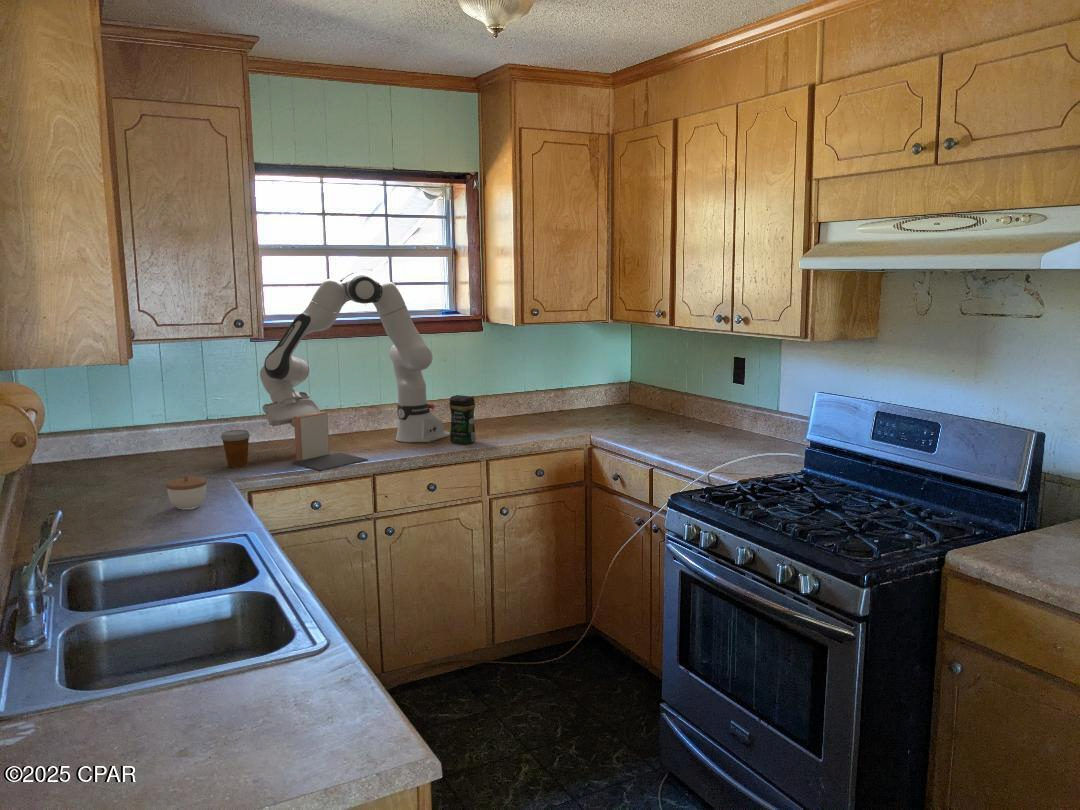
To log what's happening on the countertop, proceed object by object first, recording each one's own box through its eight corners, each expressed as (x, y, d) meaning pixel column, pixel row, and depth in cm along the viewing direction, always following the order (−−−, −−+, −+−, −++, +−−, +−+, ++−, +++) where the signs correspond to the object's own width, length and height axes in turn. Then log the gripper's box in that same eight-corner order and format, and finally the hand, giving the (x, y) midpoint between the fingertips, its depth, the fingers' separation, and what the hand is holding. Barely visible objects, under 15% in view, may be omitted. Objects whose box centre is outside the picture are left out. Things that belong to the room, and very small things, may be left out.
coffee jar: (446, 443, 323) (445, 396, 320) (458, 439, 330) (457, 393, 327) (467, 445, 319) (466, 397, 316) (478, 441, 326) (477, 394, 323)
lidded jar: (196, 499, 249) (194, 469, 247) (215, 506, 242) (212, 475, 241) (161, 508, 241) (158, 476, 239) (180, 514, 234) (177, 482, 233)
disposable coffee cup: (228, 470, 284) (226, 436, 282) (219, 465, 291) (216, 432, 289) (256, 466, 290) (253, 432, 288) (246, 461, 297) (243, 428, 295)
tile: (324, 454, 307) (322, 411, 304) (330, 455, 305) (328, 412, 302) (296, 460, 298) (293, 416, 295) (301, 461, 296) (299, 417, 293)
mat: (339, 453, 308) (339, 452, 308) (368, 460, 297) (367, 459, 297) (292, 463, 293) (292, 462, 293) (320, 471, 282) (320, 469, 282)
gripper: (263, 399, 299) (280, 429, 294) (312, 392, 314) (329, 420, 309) (257, 410, 303) (274, 439, 298) (306, 402, 318) (322, 430, 313)
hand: (302, 429), depth 304 cm, fingers closed
